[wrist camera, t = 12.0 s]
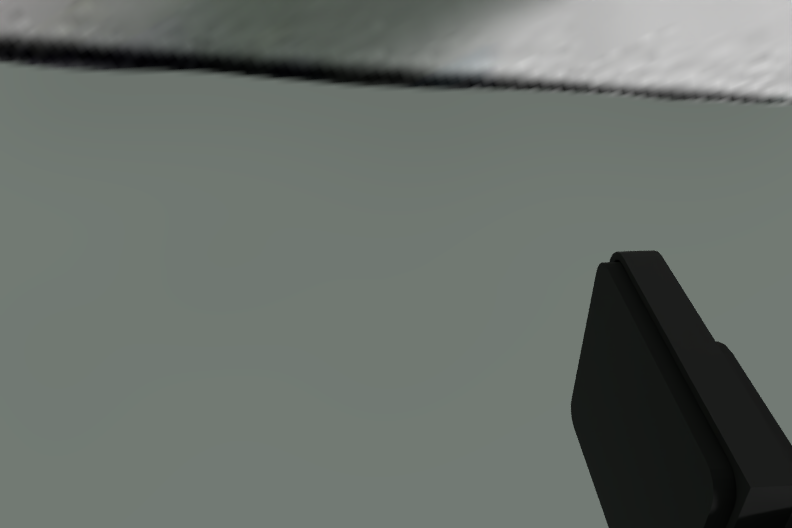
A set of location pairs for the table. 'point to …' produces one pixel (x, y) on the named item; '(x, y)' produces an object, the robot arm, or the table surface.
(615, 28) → the table surface
